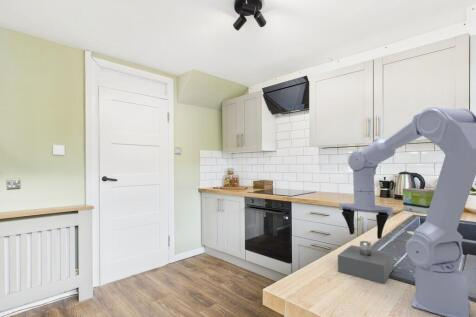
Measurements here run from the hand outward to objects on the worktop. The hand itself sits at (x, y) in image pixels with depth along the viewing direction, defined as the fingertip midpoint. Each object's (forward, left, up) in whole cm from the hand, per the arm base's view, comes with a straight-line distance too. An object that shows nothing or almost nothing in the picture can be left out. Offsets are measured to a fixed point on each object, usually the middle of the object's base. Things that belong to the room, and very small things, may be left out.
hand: (365, 235), depth 76 cm
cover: (0, 0, -10) cm, 10 cm away
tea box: (-2, -119, -11) cm, 119 cm away
